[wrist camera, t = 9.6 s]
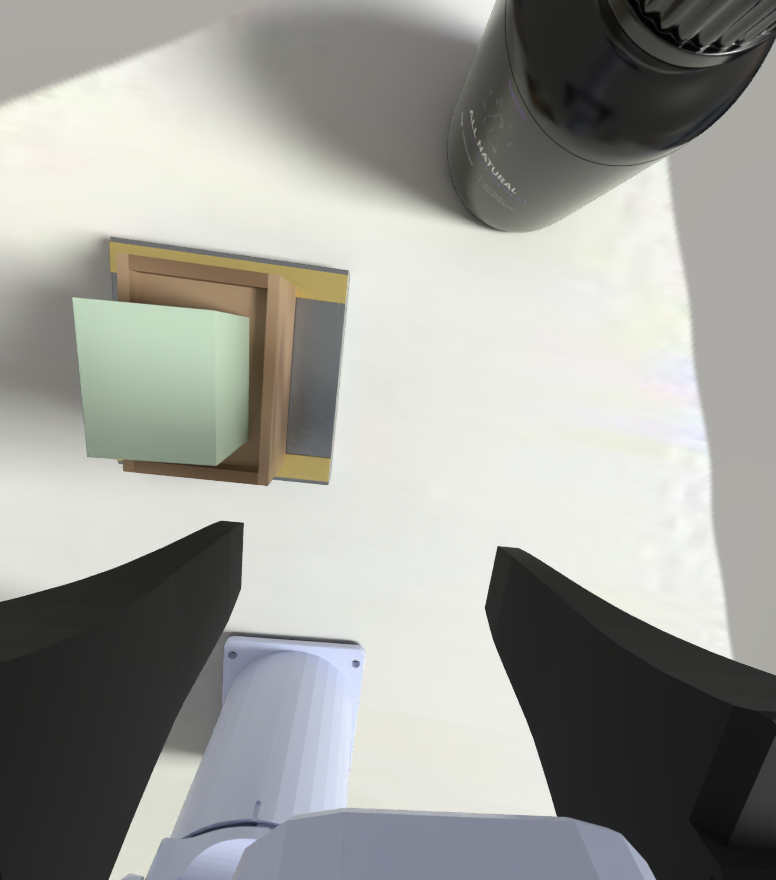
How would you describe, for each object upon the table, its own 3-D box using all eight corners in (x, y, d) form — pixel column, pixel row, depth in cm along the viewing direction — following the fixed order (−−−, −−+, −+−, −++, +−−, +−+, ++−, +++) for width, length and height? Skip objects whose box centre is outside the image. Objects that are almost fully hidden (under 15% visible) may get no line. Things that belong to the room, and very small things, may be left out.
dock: (330, 477, 21) (328, 485, 20) (133, 456, 20) (117, 464, 19) (350, 275, 18) (348, 270, 17) (127, 243, 18) (109, 236, 16)
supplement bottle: (422, 205, 18) (518, -47, 6) (478, 33, 16) (739, -709, 5) (558, 260, 19) (865, 124, 7) (623, 101, 17) (1142, -396, 6)
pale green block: (248, 440, 16) (216, 466, 13) (147, 432, 16) (87, 457, 13) (249, 317, 15) (214, 310, 12) (140, 307, 15) (72, 297, 11)
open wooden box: (284, 461, 19) (267, 485, 16) (165, 449, 19) (123, 471, 16) (296, 287, 17) (279, 275, 14) (164, 269, 17) (116, 252, 14)
